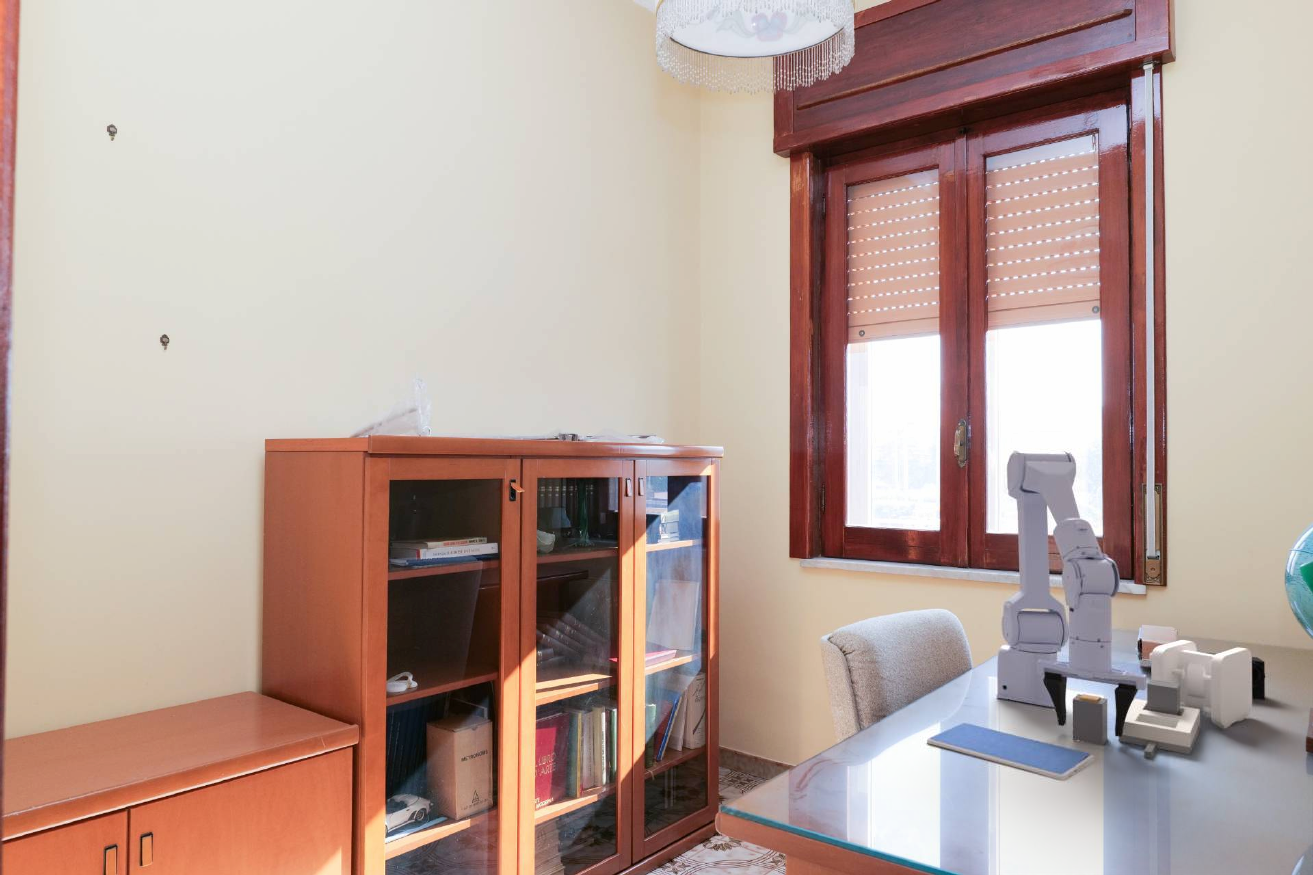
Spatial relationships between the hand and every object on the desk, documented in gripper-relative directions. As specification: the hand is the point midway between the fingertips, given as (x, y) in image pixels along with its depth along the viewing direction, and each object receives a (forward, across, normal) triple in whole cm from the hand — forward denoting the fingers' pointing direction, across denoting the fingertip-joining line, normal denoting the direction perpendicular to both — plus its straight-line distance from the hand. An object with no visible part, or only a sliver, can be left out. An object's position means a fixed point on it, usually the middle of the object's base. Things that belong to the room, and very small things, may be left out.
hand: (1090, 729), depth 124 cm
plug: (+2, 0, 0) cm, 2 cm away
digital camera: (+2, +15, +47) cm, 49 cm away
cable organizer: (+2, +12, +26) cm, 29 cm away
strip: (+1, +8, +7) cm, 11 cm away
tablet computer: (+2, -8, -14) cm, 16 cm away
